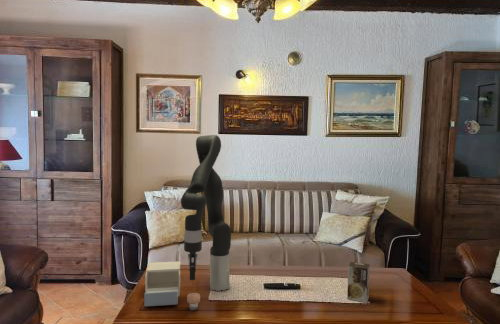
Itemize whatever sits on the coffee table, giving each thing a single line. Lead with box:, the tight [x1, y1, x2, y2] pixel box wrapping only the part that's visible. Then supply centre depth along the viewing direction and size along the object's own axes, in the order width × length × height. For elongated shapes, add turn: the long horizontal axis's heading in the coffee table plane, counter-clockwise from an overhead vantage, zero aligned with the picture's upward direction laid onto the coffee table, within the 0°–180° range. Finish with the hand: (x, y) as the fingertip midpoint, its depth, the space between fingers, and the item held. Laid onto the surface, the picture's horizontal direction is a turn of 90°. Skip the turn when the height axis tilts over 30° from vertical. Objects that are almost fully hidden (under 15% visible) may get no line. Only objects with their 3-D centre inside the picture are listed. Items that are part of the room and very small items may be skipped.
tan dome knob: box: [186, 292, 201, 305], centre depth 168 cm, size 6×6×2 cm
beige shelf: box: [144, 261, 181, 297], centre depth 187 cm, size 16×15×12 cm
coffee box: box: [346, 261, 371, 303], centre depth 180 cm, size 9×6×16 cm
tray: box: [143, 287, 179, 307], centre depth 175 cm, size 14×14×6 cm
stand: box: [189, 303, 199, 312], centre depth 169 cm, size 4×4×4 cm
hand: (192, 276), depth 168 cm, fingers open, 8 cm apart
